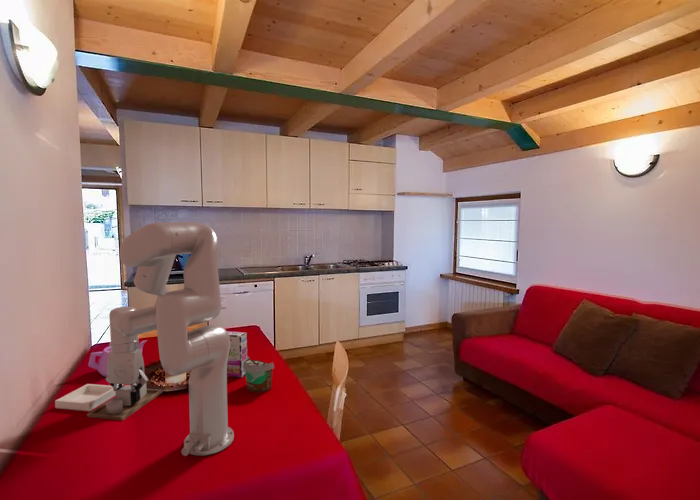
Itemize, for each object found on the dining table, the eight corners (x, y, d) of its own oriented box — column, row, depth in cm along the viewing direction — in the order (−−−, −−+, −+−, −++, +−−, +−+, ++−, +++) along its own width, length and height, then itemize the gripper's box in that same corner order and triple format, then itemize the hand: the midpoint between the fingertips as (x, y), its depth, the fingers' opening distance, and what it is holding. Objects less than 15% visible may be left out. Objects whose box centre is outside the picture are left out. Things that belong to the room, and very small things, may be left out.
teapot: (151, 370, 146) (150, 342, 145) (89, 383, 134) (88, 353, 133) (145, 360, 156) (144, 334, 155) (87, 371, 144) (86, 344, 143)
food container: (235, 389, 130) (235, 361, 129) (248, 382, 135) (247, 356, 134) (262, 397, 124) (262, 368, 123) (274, 390, 130) (274, 362, 129)
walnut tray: (123, 422, 108) (123, 417, 108) (87, 418, 110) (86, 414, 110) (162, 393, 126) (162, 389, 126) (131, 391, 128) (130, 387, 128)
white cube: (140, 398, 121) (140, 387, 121) (127, 398, 121) (127, 388, 121) (146, 393, 125) (146, 382, 125) (134, 393, 125) (133, 382, 125)
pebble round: (114, 416, 110) (113, 405, 109) (103, 415, 111) (102, 403, 111) (126, 410, 114) (125, 398, 114) (115, 408, 115) (115, 397, 115)
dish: (89, 413, 113) (89, 403, 113) (55, 409, 115) (55, 400, 115) (119, 394, 125) (118, 386, 125) (87, 392, 127) (87, 383, 126)
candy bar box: (248, 373, 144) (247, 332, 142) (241, 378, 139) (240, 336, 137) (222, 370, 146) (222, 329, 145) (215, 375, 141) (214, 333, 140)
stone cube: (129, 405, 115) (128, 392, 115) (116, 405, 116) (115, 391, 115) (139, 399, 120) (138, 385, 119) (126, 398, 120) (126, 385, 120)
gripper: (91, 349, 114) (95, 406, 115) (141, 351, 111) (143, 409, 113) (110, 341, 121) (113, 395, 123) (157, 343, 119) (159, 398, 120)
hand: (128, 401), depth 118 cm, fingers closed on stone cube, 4 cm apart
